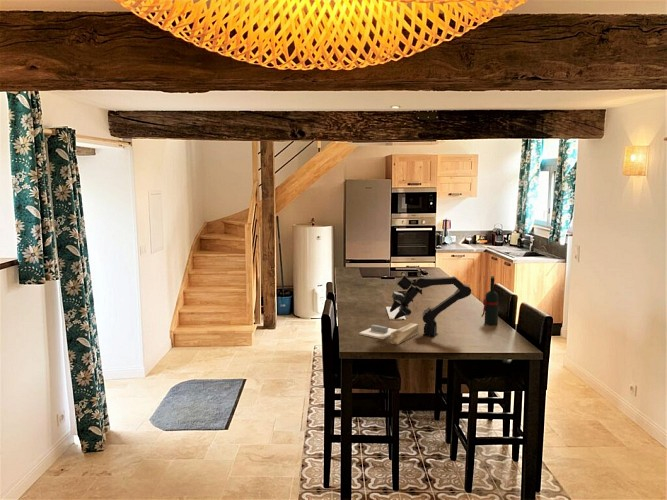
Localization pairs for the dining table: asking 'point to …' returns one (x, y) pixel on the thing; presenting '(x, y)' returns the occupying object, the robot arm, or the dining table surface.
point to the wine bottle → (491, 305)
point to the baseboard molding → (394, 314)
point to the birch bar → (404, 333)
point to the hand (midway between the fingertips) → (392, 315)
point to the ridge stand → (378, 332)
